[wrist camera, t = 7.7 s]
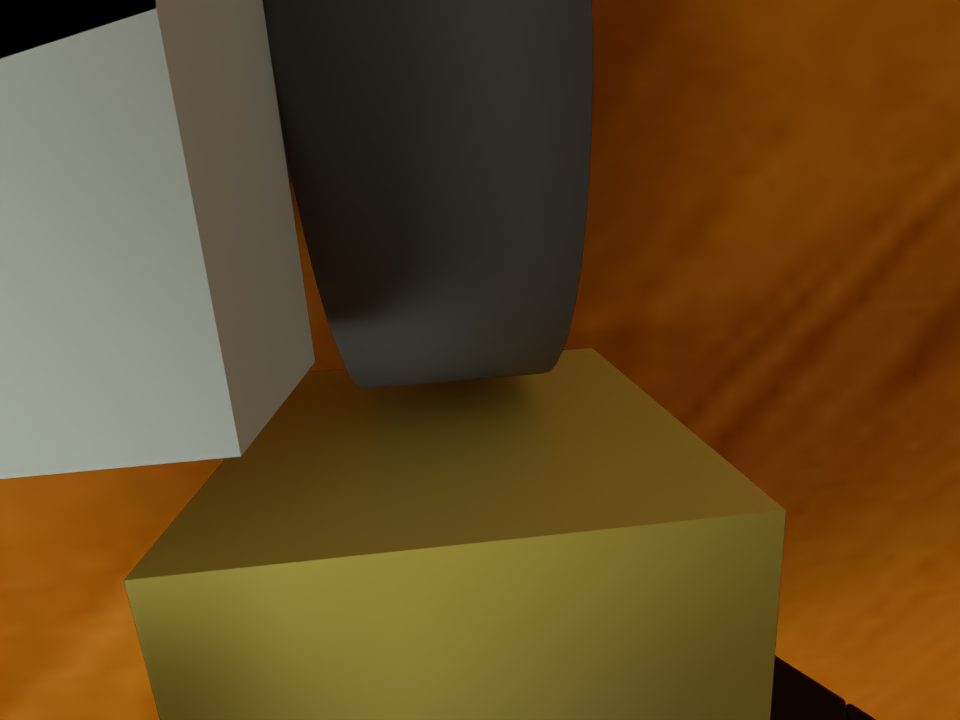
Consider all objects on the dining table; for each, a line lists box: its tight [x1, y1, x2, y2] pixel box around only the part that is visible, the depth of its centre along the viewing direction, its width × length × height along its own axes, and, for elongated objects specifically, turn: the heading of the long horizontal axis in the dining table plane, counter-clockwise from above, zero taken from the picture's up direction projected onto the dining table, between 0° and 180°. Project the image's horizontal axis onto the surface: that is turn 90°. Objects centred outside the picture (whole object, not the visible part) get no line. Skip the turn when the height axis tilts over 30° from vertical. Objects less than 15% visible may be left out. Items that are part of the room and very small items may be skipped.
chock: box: [124, 348, 786, 720], centre depth 7 cm, size 7×4×5 cm, turn 4°
